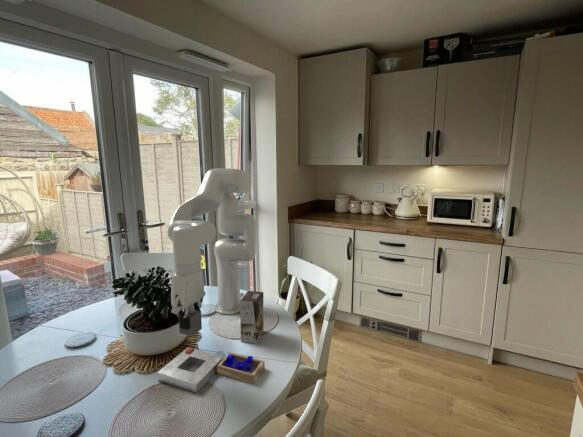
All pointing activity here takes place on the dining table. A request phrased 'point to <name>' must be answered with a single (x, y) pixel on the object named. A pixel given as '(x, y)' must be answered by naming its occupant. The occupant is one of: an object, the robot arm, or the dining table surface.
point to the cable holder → (239, 363)
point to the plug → (192, 322)
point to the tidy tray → (237, 373)
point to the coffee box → (251, 316)
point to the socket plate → (190, 369)
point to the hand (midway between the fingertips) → (190, 323)
